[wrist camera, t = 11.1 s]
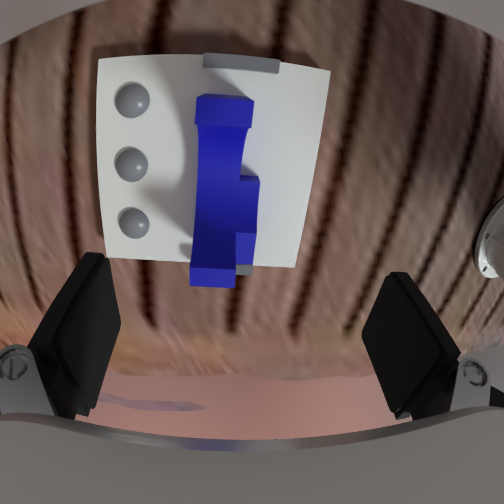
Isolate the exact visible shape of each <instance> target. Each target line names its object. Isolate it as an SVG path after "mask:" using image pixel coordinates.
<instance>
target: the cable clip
mask: <svg viewBox="0 0 504 504" xmlns="http://www.w3.org/2000/svg"><path fill="white" fill-rule="evenodd" d="M254 102H255V101H254V100H252V99H250V98H249V97H247V96H235V95H222V94H202V95H200V96H198V97H197V98H196V111H195V124H196V125H197V129H198V172H197V191H196V207H195V221H194V233H193V244H192V253H191V261H190V286H202V287H222V288H234V285H235V275H236V264H253V259H254V251H255V244H256V236H257V215H258V201H259V191H260V180H259V177H258V176H249V175H240V172H241V164H242V157H243V150H244V145H245V140H246V136H247V132H248V130H249V128H251V127H252V118H253V110H254Z"/></svg>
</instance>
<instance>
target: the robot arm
mask: <svg viewBox="0 0 504 504" xmlns="http://www.w3.org/2000/svg"><path fill="white" fill-rule="evenodd" d="M474 258H475V264H476V267H477V269H478V270H479V272H480V273H481V274H482V275H483V276H484V277H487V278H495V277H498V276H499V277H500V278H501V279H502V280H503V281H504V198H503V199H502V200H501V201H500V202H498V203H497V204H496V206H495V207H494V208H493V209H492V210H491V212H490V213H489V215H488V216H487V218H486V220H485V222H484V224H483V225H482V228H481V230H480V233H479V235H478V239H477V242H476V247H475V257H474ZM120 326H121V319H120V314H119V310H118V305H117V300H116V295H115V290H114V284H113V279H112V273H111V267H110V261H109V259H108V258H105V256H104V254H103V253H94V252H86V253H85V254H84V256H83V257H82V259H81V260H80V261H79V263H78V264H77V266H76V267H75V269H74V270H73V272H72V273H71V275H70V276H69V278H68V279H67V281H66V282H65V284H64V285H63V287H62V289H61V290H60V292H59V293H58V294H57V296H56V298H55V299H54V301H53V302H52V304H51V306H50V307H49V309H48V311H47V312H46V314H45V316H44V317H43V319H42V321H41V323H40V324H39V326H38V328H37V330H36V331H35V333H34V335H33V337H32V339H31V341H30V342H29V344H28V346H27V347H26V346H23V345H18V344H14V345H10V346H7V347H5V348H4V349H2V350H1V351H0V504H504V393H503V392H501V391H500V390H498V389H496V388H494V387H492V386H491V378H490V374H489V371H488V370H487V368H486V367H485V366H484V365H483V364H482V363H481V362H480V361H478V360H476V359H474V358H468V357H466V358H463V359H462V360H461V361H460V362H458V360H457V358H458V357H459V355H460V354H461V352H460V350H459V349H458V347H457V345H456V344H455V342H454V340H453V339H452V337H451V336H450V334H449V333H448V331H447V329H446V328H445V326H444V325H443V323H442V322H441V320H440V319H439V317H438V316H437V314H436V313H435V311H434V310H433V308H432V307H431V305H430V304H429V302H428V301H427V300H426V298H425V297H424V295H423V294H422V292H421V291H420V290H419V288H418V287H417V285H416V284H415V283H414V281H413V280H412V279H411V277H410V276H409V274H408V273H406V272H391V273H390V274H389V276H386V277H385V279H384V282H383V284H382V286H381V289H380V291H379V294H378V296H377V298H376V301H375V303H374V305H373V308H372V310H371V312H370V315H369V317H368V319H367V321H366V323H365V326H364V328H363V330H362V340H363V342H364V345H365V347H366V350H367V352H368V355H369V357H370V360H371V362H372V365H373V367H374V370H375V372H376V375H377V377H378V380H379V383H380V385H381V388H382V391H383V393H384V396H385V398H386V401H387V404H388V407H389V409H390V411H391V412H393V413H394V415H395V418H396V420H398V419H403V418H407V417H409V416H410V415H411V416H412V419H413V420H412V421H410V422H406V423H401V424H397V425H392V426H387V427H382V428H376V429H371V430H365V431H358V432H352V433H344V434H337V435H328V436H319V437H307V438H293V439H274V440H221V439H199V438H186V437H175V436H166V435H158V434H150V433H142V432H136V431H129V430H123V429H116V428H111V427H106V426H101V425H95V424H91V423H86V422H82V421H77V420H74V419H75V416H76V414H79V415H83V416H87V417H88V415H89V412H90V408H91V409H94V408H95V406H96V403H97V400H98V396H99V393H100V389H101V386H102V383H103V379H104V376H105V373H106V370H107V366H108V363H109V360H110V357H111V354H112V351H113V348H114V345H115V342H116V339H117V336H118V333H119V330H120Z"/></svg>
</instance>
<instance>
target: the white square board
mask: <svg viewBox="0 0 504 504" xmlns="http://www.w3.org/2000/svg"><path fill="white" fill-rule="evenodd" d="M330 73H331V71H327V70H323V69H318V68H313V67H308V66H302V65H297V64H291V63H284V62H280V60H278V59H270V58H263V57H254V56H244V55H233V54H219V53H204V55H194V54H162V55H138V56H124V57H113V58H104V59H99V62H98V76H97V100H96V143H97V168H98V183H99V196H100V206H101V216H102V224H103V232H104V240H105V247H106V254H107V257H114V258H130V259H146V260H162V261H179V262H190V261H191V253H192V244H193V233H194V221H195V207H196V191H197V172H198V129H197V125H196V124H195V111H196V98H197V97H198V96H200V95H202V94H222V95H235V96H247V97H249V98H250V99H252V100H254V101H255V102H254V110H253V118H252V127H251V128H249V130H248V132H247V136H246V140H245V145H244V150H243V157H242V164H241V172H240V175H249V176H258V177H259V180H260V191H259V201H258V215H257V236H256V244H255V251H254V259H253V264H236V275H252V269H253V265H254V266H275V267H295V263H296V258H297V254H298V249H299V244H300V240H301V235H302V230H303V225H304V221H305V216H306V211H307V206H308V201H309V196H310V191H311V185H312V180H313V175H314V170H315V164H316V159H317V153H318V147H319V142H320V136H321V130H322V124H323V118H324V112H325V106H326V100H327V93H328V87H329V80H330Z"/></svg>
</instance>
